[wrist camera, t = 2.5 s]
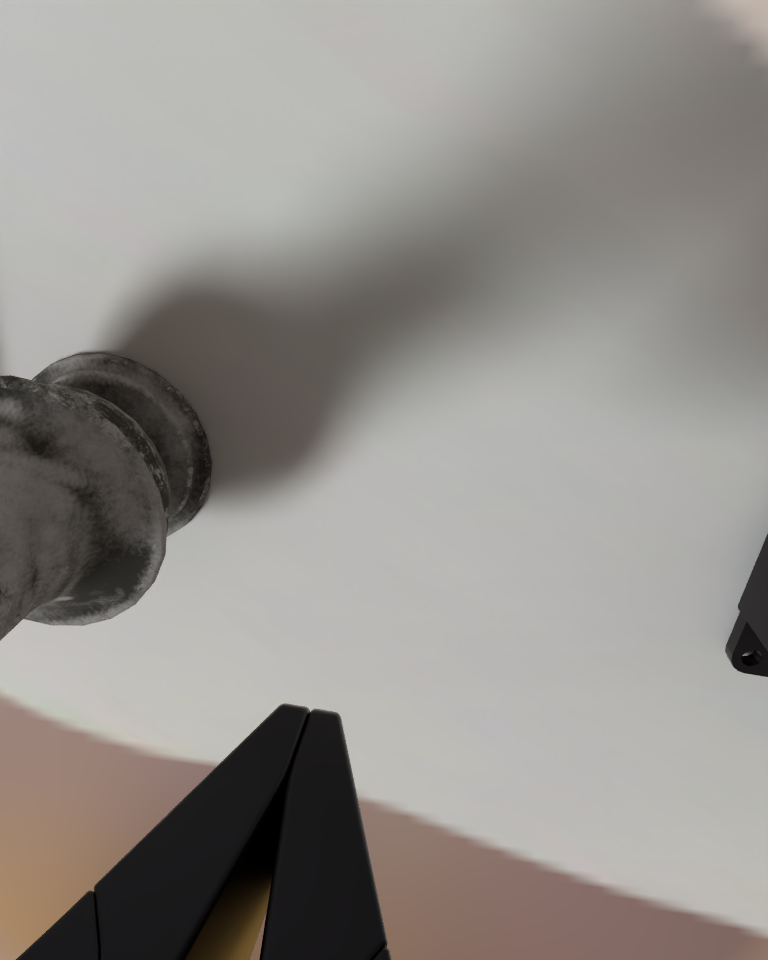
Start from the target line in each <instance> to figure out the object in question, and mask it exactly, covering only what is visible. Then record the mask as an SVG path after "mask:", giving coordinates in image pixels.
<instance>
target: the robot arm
mask: <svg viewBox="0 0 768 960" xmlns="http://www.w3.org/2000/svg"><path fill="white" fill-rule="evenodd" d="M738 608H739V610H740V613H739V616H738V618H737V621H736V623H735V625H734V628H733V630H732V633H731V635H730V637H729V640H728V642H727V645H726V650H725V652H726V654H727V657H728V659H729V660H730V662H731V664H732V665H733V667H734V668H735V669H737V670H738V671H740V672H743V673H747V674H753V675H759V676H765V677H768V534H767V537H766V539H765V542H764V544H763V546H762V549H761V551H760V554H759V556H758V558H757V561H756V563H755V566H754V568H753V570H752V573H751V575H750V578H749V580H748V583H747V585H746V587H745V590H744V592H743V595H742V597H741V599H740V602H739V604H738ZM749 650H755V651H754V652H753V653H752V654H750V655H748V656H742V655H743V654H744V653H745V652H747V651H749ZM266 912H267V913H266ZM265 915H266V920H265V928H264V934H263V940H262V947H261V953H260V960H391V955H390V951H389V949H388V948H387V938H386V933H385V928H384V923H383V919H382V914H381V909H380V905H379V899H378V895H377V890H376V885H375V880H374V875H373V871H372V866H371V861H370V856H369V851H368V846H367V842H366V837H365V832H364V827H363V822H362V817H361V813H360V808H359V803H358V798H357V793H356V788H355V784H354V779H353V774H352V769H351V764H350V760H349V755H348V750H347V745H346V740H345V735H344V731H343V726H342V721H341V717H340V715H339V714H338V713H336V712H332V711H326V710H320V709H313V710H312V711H311V712H310V710H309V709H308V708H307V707H303V706H297V705H291V704H282V705H280V706H279V707H278V708H277V709H276V710H275V711H274V712H273V713H271V714H270V715H269V716H268V717H267V718H266V719H265V720H264V721H263V722H262V723H261V724H260V725H259V726H258V727H257V728H256V729H255V730H254V731H253V732H252V733H251V734H250V735H249V736H248V737H247V738H246V739H245V740H244V741H243V742H242V743H241V744H240V745H239V746H238V747H237V748H235V749H234V750H233V751H232V752H231V753H230V754H229V755H228V756H227V757H226V758H225V759H224V760H223V761H222V762H221V763H220V764H219V765H218V766H217V767H216V768H215V769H214V770H213V771H212V772H211V773H210V774H209V775H208V776H207V777H206V778H205V779H204V780H203V781H202V782H201V783H199V784H198V785H197V786H196V787H195V788H194V789H193V790H192V791H191V792H190V793H189V794H188V795H187V796H186V797H185V798H184V799H183V800H182V801H181V802H180V803H179V804H178V805H177V806H176V807H175V808H174V809H173V810H172V811H171V812H170V813H169V814H168V815H167V816H166V817H165V818H164V819H162V820H161V821H160V822H159V823H158V824H157V825H156V826H155V827H154V828H153V829H152V830H151V831H150V832H149V833H148V834H147V835H146V836H145V837H144V838H143V839H142V840H141V841H140V842H139V843H138V844H137V845H136V846H135V847H134V848H133V849H132V850H131V851H130V852H129V853H128V854H127V855H125V856H124V858H122V859H121V860H120V861H119V862H118V863H117V864H116V865H115V866H114V867H113V868H112V869H111V870H110V871H109V872H108V873H107V874H106V875H105V876H104V877H103V878H102V879H101V880H100V881H99V882H98V883H97V884H96V885H95V887H94V892H93V891H88V892H87V893H86V894H85V895H84V896H83V897H82V898H81V899H80V900H79V901H78V902H77V903H76V904H75V905H74V906H73V907H72V908H71V909H70V910H69V911H68V912H67V913H65V915H63V916H62V917H61V918H60V919H59V920H58V921H57V922H56V923H55V924H54V925H53V926H52V927H51V928H50V929H49V930H47V931H46V932H45V933H44V934H43V935H42V936H41V937H40V938H39V939H38V940H37V941H35V942H34V943H33V944H32V945H31V946H30V947H29V948H28V949H27V950H26V951H25V952H24V953H23V954H21V955H20V956H19V957H18V958H17V959H16V960H250V957H251V954H252V952H253V948H254V946H255V943H256V940H257V937H258V934H259V932H260V929H261V926H262V923H263V920H264V917H265Z"/></svg>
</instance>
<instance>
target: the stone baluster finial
mask: <svg viewBox="0 0 768 960" xmlns="http://www.w3.org/2000/svg"><path fill="white" fill-rule="evenodd" d="M211 463H212V462H211V457H210V452H209V446H208V441H207V437H206V435H205V432H204V430H203V428H202V426H201V424H200V422H199V420H198V417H197V415H196V413H195V412H194V410H193V409H192V408H191V407H190V405H189V404H188V403H187V402H186V400H185V399H184V398H183V396H182V395H181V394H180V393H179V391H178V390H177V389H175V388H174V387H173V386H172V385H171V384H169V383H168V382H167V381H166V380H164V379H163V378H162V377H161V376H159V375H158V374H157V373H156V372H154V371H152V370H150V369H148V368H146V367H144V366H142V365H140V364H138V363H136V362H134V361H132V360H130V359H125V358H121V357H116V356H112V355H107V354H103V353H102V354H81V355H75V356H72V357H69V358H66V359H64V360H61V361H58V362H55V363H53V364H50V365H49V366H48V367H47V368H45V369H44V370H43V371H42V372H40V373H39V374H38V375H37V376H35V377H34V378H33V379H32V380H28V379H24V378H19V377H15V376H0V640H1V639H2V638H3V637H5V636H6V635H7V634H8V633H9V632H10V631H11V630H12V629H13V628H14V627H15V626H16V625H17V624H18V623H19V622H20V621H21V620H22V619H27V620H31V621H35V622H40V623H44V624H48V625H87V624H91V623H95V622H99V621H103V620H107V619H111V618H113V617H115V616H116V615H118V614H120V613H121V612H123V611H125V610H127V609H128V608H130V607H132V606H133V605H135V604H136V603H137V602H138V600H139V599H140V598H141V597H142V596H143V595H144V593H145V592H146V591H147V590H148V589H149V588H150V587H151V585H152V584H153V583H154V582H155V580H156V577H157V575H158V572H159V570H160V567H161V565H162V562H163V559H164V557H165V552H166V537H167V536H169V535H170V534H172V533H174V532H175V531H177V530H178V529H180V528H182V527H183V526H185V525H186V524H187V523H188V522H189V520H190V519H191V518H192V517H193V516H194V515H195V513H196V512H197V511H198V510H199V509H200V507H201V506H202V503H203V501H204V498H205V496H206V494H207V491H208V489H209V486H210V475H211Z"/></svg>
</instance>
